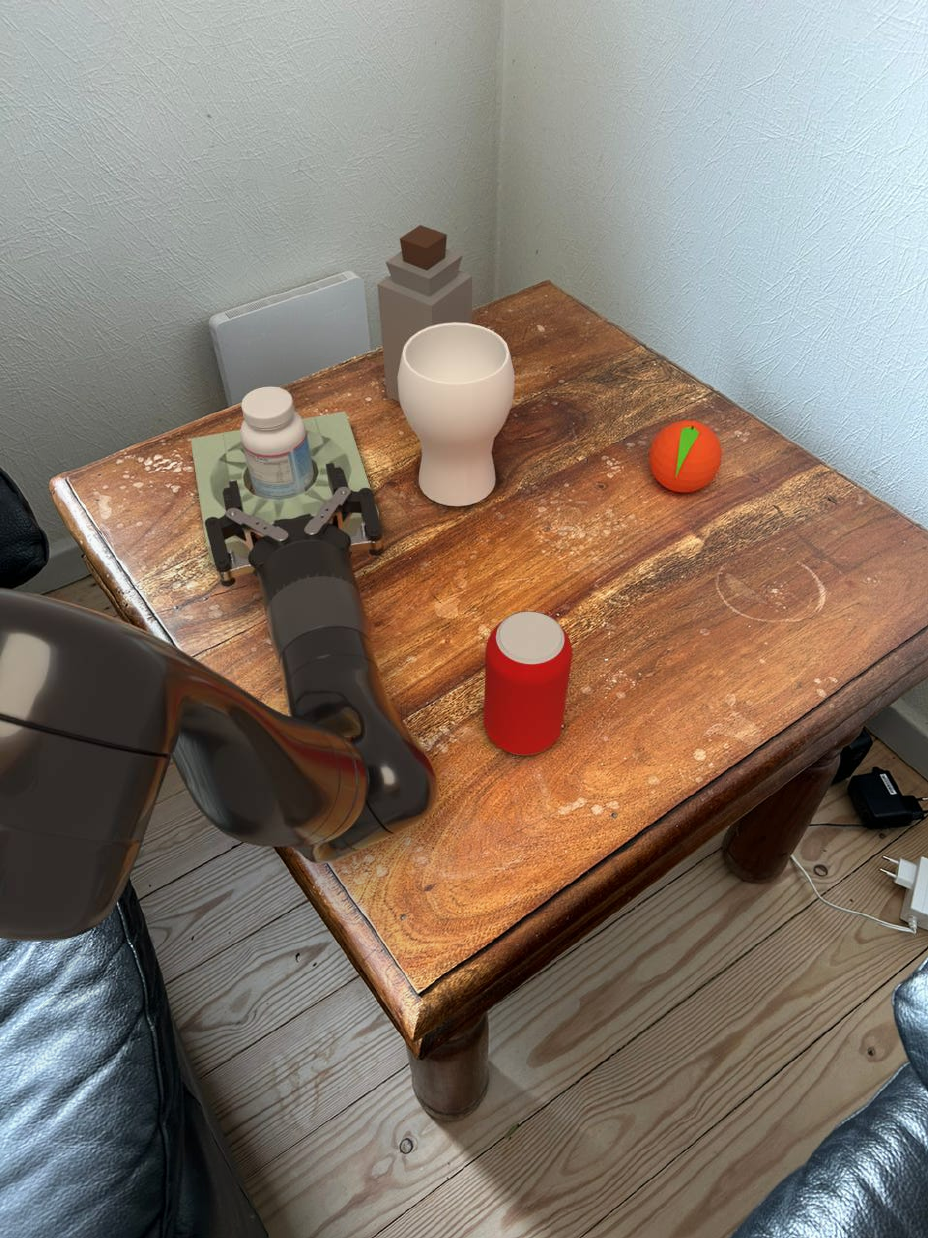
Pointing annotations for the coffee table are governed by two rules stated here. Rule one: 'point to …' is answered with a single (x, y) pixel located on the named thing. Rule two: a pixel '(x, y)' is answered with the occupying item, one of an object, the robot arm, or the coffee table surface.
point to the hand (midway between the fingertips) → (282, 479)
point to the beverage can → (526, 682)
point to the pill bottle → (275, 444)
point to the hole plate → (227, 462)
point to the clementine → (685, 456)
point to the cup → (456, 407)
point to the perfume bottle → (420, 295)
